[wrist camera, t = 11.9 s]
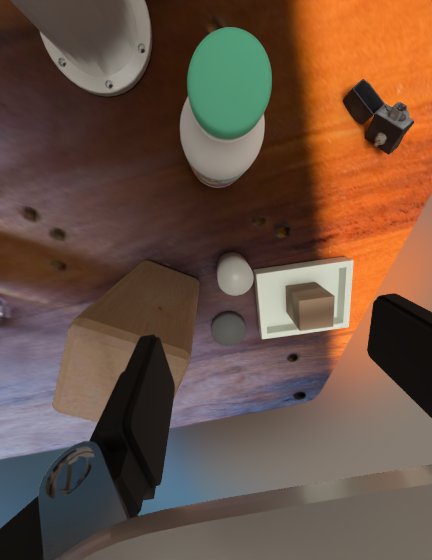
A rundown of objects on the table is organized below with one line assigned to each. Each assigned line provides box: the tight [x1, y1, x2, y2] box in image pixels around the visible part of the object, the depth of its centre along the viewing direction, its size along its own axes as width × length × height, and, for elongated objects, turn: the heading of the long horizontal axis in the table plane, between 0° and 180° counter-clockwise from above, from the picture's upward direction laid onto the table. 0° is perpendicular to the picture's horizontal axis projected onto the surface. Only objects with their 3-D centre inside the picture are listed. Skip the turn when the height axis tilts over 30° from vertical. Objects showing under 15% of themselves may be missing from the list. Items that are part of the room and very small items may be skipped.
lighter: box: [343, 79, 414, 155], centre depth 27 cm, size 9×2×6 cm
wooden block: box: [52, 261, 200, 422], centre depth 27 cm, size 10×10×20 cm
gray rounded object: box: [212, 311, 246, 346], centre depth 38 cm, size 6×6×2 cm
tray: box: [253, 256, 353, 339], centre depth 36 cm, size 12×15×2 cm
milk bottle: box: [180, 27, 272, 188], centre depth 21 cm, size 8×8×20 cm
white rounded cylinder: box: [217, 252, 254, 296], centre depth 33 cm, size 5×5×6 cm
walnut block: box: [285, 282, 335, 331], centre depth 34 cm, size 5×5×6 cm
